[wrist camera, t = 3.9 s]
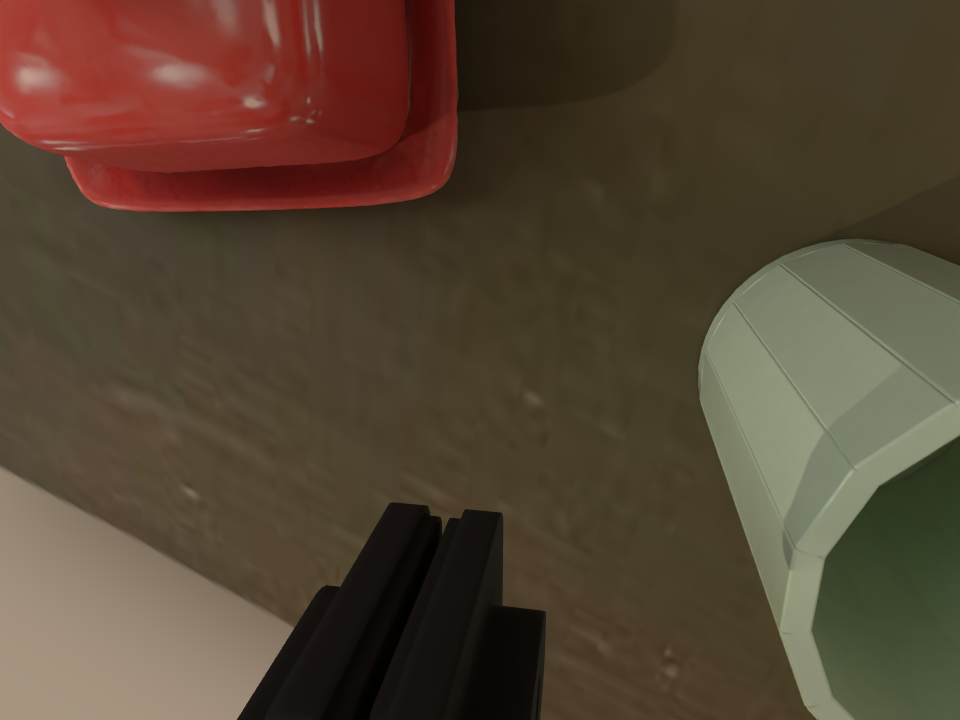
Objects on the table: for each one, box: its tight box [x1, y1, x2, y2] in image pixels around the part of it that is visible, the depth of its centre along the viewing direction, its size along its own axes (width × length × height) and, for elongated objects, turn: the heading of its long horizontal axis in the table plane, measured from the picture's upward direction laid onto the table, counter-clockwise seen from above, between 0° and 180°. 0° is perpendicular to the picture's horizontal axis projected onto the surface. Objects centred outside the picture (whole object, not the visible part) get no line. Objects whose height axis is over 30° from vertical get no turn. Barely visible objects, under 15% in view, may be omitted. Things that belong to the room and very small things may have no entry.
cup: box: [698, 239, 960, 720], centre depth 14 cm, size 7×7×10 cm
